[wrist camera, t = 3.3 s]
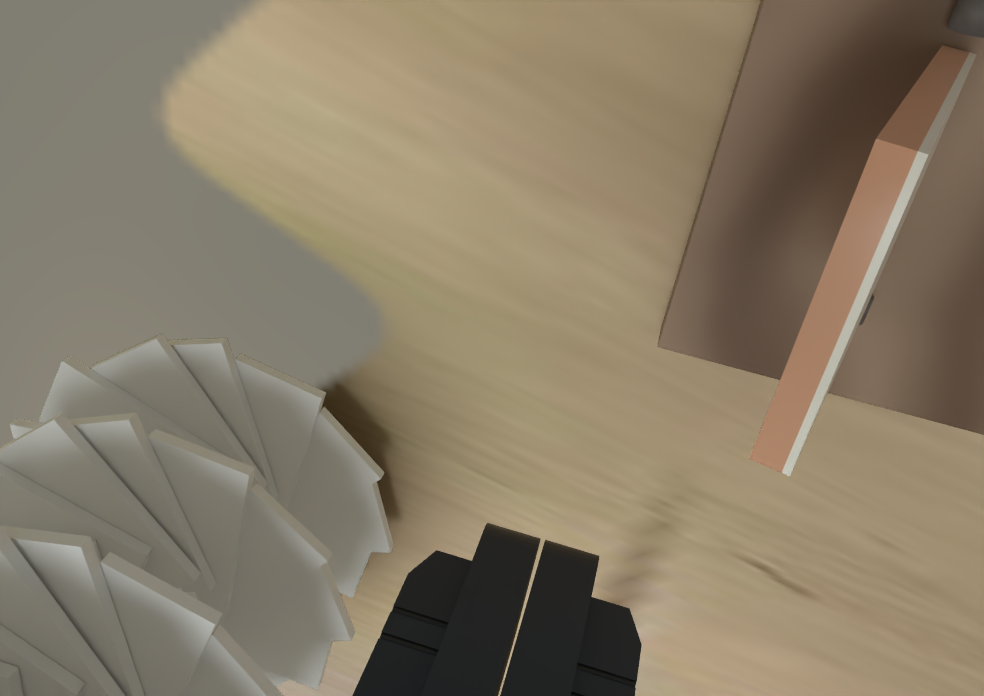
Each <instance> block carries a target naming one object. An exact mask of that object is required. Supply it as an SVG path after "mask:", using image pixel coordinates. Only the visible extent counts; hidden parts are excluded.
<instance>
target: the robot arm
mask: <svg viewBox="0 0 984 696" xmlns="http://www.w3.org/2000/svg"><path fill="white" fill-rule="evenodd" d="M539 543H540V538H536V537H533V536H530V535H526V534H523V533H520V532H516V531H513V530H510V529H506V528H503V527H499V526H496V525H493V524H489V523H487V524H486V526H485V529H484V531H483V534H482V536H481V539H480V541H479V544H478V547H477V549H476V552H475V555H474V557H473V560H472V561H470V560H467V559H463V558H460V557H457V556H454V555H450V554H447V553H444V552H440V551H437V550H436V551H435V552H434V553H433V554H431V555H430V556H429V557H428V558H427V559H425V560H424V561H423V562H422V563H420V564H419V565H418V566H417V567H416V568H414V569H413V570H412V571H411V572H409V573H408V575H407V578H406V580H405V582H404V584H403V586H402V588H401V591H400V593H399V595H398V597H397V599H396V602H395V604H394V607H393V610H392V612H391V613H390V615H389V617H388V619H387V621H386V623H385V626H384V628H383V630H382V633H381V636H380V639H378V641H377V643H376V645H375V648H374V650H373V652H372V654H371V656H370V659H369V661H368V663H367V665H366V667H365V669H364V672H363V674H362V676H361V678H360V680H359V683H358V685H357V687H356V689H355V691H354V694H353V696H498V694H499V690H500V687H501V683H502V680H503V676H504V673H505V670H506V666H507V663H508V659H509V656H510V652H511V649H512V645H513V641H514V638H515V634H516V630H517V627H518V623H519V619H520V616H521V612H522V608H523V604H524V600H525V597H526V593H527V589H528V585H529V581H530V578H531V574H532V570H533V566H534V562H535V559H536V555H537V551H538V547H539ZM598 561H599V556H598V555H594V554H591V553H588V552H584V551H581V550H578V549H574V548H571V547H568V546H564V545H561V544H557V543H554V542H551V541H547V540H545V543H544V546H543V550H542V553H541V557H540V560H539V563H538V567H537V570H536V574H535V577H534V581H533V584H532V588H531V591H530V595H529V598H528V602H527V605H526V608H525V612H524V615H523V619H522V622H521V626H520V629H519V633H518V636H517V640H516V643H515V647H514V650H513V654H512V657H511V660H510V664H509V667H508V671H507V674H506V678H505V681H504V685H503V688H502V692H501V695H500V696H635V689H636V688H635V685H636V681H637V674H638V667H639V660H640V652H641V642H640V639H639V636H638V633H637V630H636V627H635V624H634V621H633V618H632V615H631V612H630V609H629V608H626V607H623V606H619V605H616V604H613V603H609V602H606V601H603V600H599V599H596V598H593V597H591V595H592V591H593V586H594V581H595V576H596V571H597V567H598Z"/></svg>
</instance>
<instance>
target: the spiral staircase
mask: <svg viewBox="0 0 984 696" xmlns="http://www.w3.org/2000/svg"><path fill="white" fill-rule="evenodd" d="M325 395H326V392H324V391H322V390H320V389H317V388H315V387H313V386H311V385H309V384H306V383H304V382H302V381H300V380H298V379H295V378H293V377H291V376H289V375H286V374H284V373H282V372H280V371H278V370H276V369H273V368H271V367H269V366H267V365H265V364H262V363H260V362H258V361H256V360H254V359H251V358H249V357H247V356H245V355H243V354H240V355H239V356H238V357H237V358H236V359H235V360H234V357H233V354H232V351H231V348H230V345H229V341H228V338H208V339H183V340H167V339H166V338H165V337H164V335H163V334H159V335H157V336H155V337H153V338H151V339H148V340H146V341H144V342H142V343H140V344H138V345H135V346H133V347H131V348H129V349H127V350H125V351H122V352H120V353H118V354H116V355H113V356H111V357H109V358H107V359H105V360H102V361H100V362H98V363H96V364H95V365H94V366H92V367H91V368H88V367H87V366H85V365H84V364H82V363H80V362H79V361H77V360H76V359H74V358H73V357H71V356H67V357H66V358H65V359H64V360H62V362H61V365H60V367H59V370H58V372H57V375H56V377H55V380H54V382H53V385H52V388H51V390H50V393H49V395H48V398H47V400H46V403H45V405H44V408H43V411H42V413H41V416H40V418H39V421H38V422H33V421H28V420H22V419H16V420H15V421H13V423H11V424H10V427H11V431H12V435H13V438H14V440H13V441H11V442H9V443H8V444H6V445H4V446H2V447H1V448H0V696H283V695H282V693H281V692H280V691H279V690H278V689H277V688H276V687H277V686H279V685H280V684H282V683H284V682H285V681H287V680H289V679H291V680H293V681H296V682H298V683H301V684H303V685H305V686H308V687H310V688H313V689H315V690H318V688H319V686H320V684H321V682H322V678H323V674H324V671H325V667H326V663H327V660H328V656H329V652H330V649H331V645H332V641H351V640H352V638H353V636H354V634H355V630H354V627H353V625H352V622H351V620H350V617H349V615H348V613H347V610H346V608H345V605H344V603H343V600H342V598H341V595H340V593H342V594H344V595H346V596H348V597H350V598H352V597H353V595H354V593H355V592H356V589H357V587H358V584H359V582H360V579H361V577H362V574H363V572H364V570H365V567H366V565H367V562H368V560H369V557H370V555H371V552H382V553H391V551H392V549H393V547H394V544H393V540H392V537H391V533H390V529H389V525H388V522H387V518H386V514H385V511H384V507H383V503H382V499H381V496H380V492H379V488H378V484H377V481H379V480H380V479H381V478H382V476H383V475H384V471H383V470H382V469H381V468H380V467H379V466H378V465H377V464H376V463H375V462H374V460H373V459H372V458H371V457H370V456H369V455H368V454H367V453H366V452H365V451H364V449H363V448H362V447H361V446H360V445H359V444H358V443H357V442H356V441H355V440H354V439H353V437H352V436H351V435H350V434H349V433H348V432H347V431H346V430H345V429H344V428H343V426H342V425H341V424H340V423H339V422H338V421H337V420H336V419H335V418H334V417H333V415H332V414H331V413H330V412H329V411H328V410H327V409H326V408H325V407H323V408H322V405H323V402H324V398H325ZM321 408H322V409H321ZM339 592H340V593H339Z"/></svg>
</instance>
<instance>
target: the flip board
mask: <svg viewBox="0 0 984 696" xmlns="http://www.w3.org/2000/svg"><path fill="white" fill-rule="evenodd" d="M942 45H944V46H948V47H952V48H955V49H959V50H963V51H967V52H971V53H974V54H977V55H976V57H975V59H974V62H973V64H972V66H971V68H970V71H969V73H968V75H967V78H966V80H965V82H964V85H963V87H962V89H961V91H960V94H959V96H958V98H957V101H956V103H955V105H954V108H953V110H952V112H951V115H950V117H949V119H948V121H947V124H946V126H945V128H944V131H943V133H942V135H941V138H940V140H939V142H938V144H937V147H936V149H935V151H934V154H933V156H932V158H931V161H930V163H929V165H928V168H927V170H926V172H925V174H924V177H923V179H922V181H921V184H920V186H919V188H918V191H917V193H916V195H915V198H914V200H913V202H912V204H911V207H910V209H909V211H908V214H907V216H906V218H905V221H904V223H903V225H902V227H901V230H900V232H899V234H898V237H897V239H896V241H895V244H894V246H893V248H892V251H891V253H890V255H889V257H888V260H887V262H886V264H885V267H884V269H883V271H882V274H881V276H880V278H879V280H878V283H877V285H876V287H875V290H874V292H873V294H872V296H871V298H870V301H869V303H868V305H867V307H866V309H865V312H864V314H863V316H862V318H861V320H860V323H859V325H858V327H857V329H856V331H855V334H854V336H853V338H852V340H851V342H850V345H849V347H848V349H847V351H846V353H845V356H844V358H843V360H842V362H841V365H840V367H839V369H838V371H837V373H836V376H835V378H834V380H833V382H832V384H831V387H830V389H829V391H828V393H830V394H834V395H838V396H842V397H845V398H849V399H853V400H856V401H860V402H864V403H868V404H871V405H875V406H879V407H882V408H886V409H890V410H894V411H897V412H901V413H905V414H908V415H912V416H916V417H920V418H923V419H927V420H931V421H934V422H938V423H942V424H946V425H949V426H953V427H957V428H961V429H964V430H968V431H972V432H975V433H979V434H983V435H984V0H761V3H760V6H759V9H758V13H757V16H756V19H755V23H754V26H753V29H752V32H751V36H750V39H749V42H748V45H747V49H746V52H745V55H744V59H743V62H742V65H741V68H740V72H739V75H738V78H737V81H736V85H735V88H734V91H733V95H732V98H731V101H730V104H729V108H728V111H727V114H726V117H725V121H724V124H723V127H722V131H721V134H720V137H719V140H718V144H717V147H716V150H715V153H714V157H713V160H712V163H711V167H710V170H709V173H708V176H707V180H706V183H705V186H704V189H703V193H702V196H701V199H700V203H699V206H698V209H697V212H696V216H695V219H694V222H693V225H692V229H691V232H690V235H689V238H688V242H687V245H686V248H685V252H684V255H683V258H682V261H681V265H680V268H679V271H678V274H677V278H676V281H675V284H674V288H673V291H672V294H671V297H670V301H669V304H668V307H667V310H666V314H665V317H664V320H663V324H662V327H661V331H660V336H659V342H658V347H660V348H663V349H667V350H671V351H674V352H678V353H682V354H686V355H689V356H693V357H697V358H700V359H704V360H708V361H712V362H715V363H719V364H723V365H726V366H730V367H734V368H738V369H741V370H745V371H749V372H752V373H756V374H760V375H764V376H767V377H771V378H775V379H778V380H780V379H781V377H782V374H783V372H784V369H785V367H786V364H787V362H788V359H789V357H790V354H791V352H792V349H793V347H794V344H795V342H796V339H797V337H798V334H799V332H800V329H801V327H802V324H803V321H804V319H805V316H806V314H807V311H808V309H809V306H810V304H811V301H812V299H813V296H814V294H815V291H816V289H817V286H818V284H819V281H820V279H821V276H822V274H823V271H824V269H825V266H826V263H827V261H828V258H829V256H830V253H831V251H832V248H833V246H834V243H835V241H836V238H837V236H838V233H839V231H840V228H841V226H842V223H843V221H844V218H845V216H846V213H847V211H848V208H849V206H850V203H851V200H852V198H853V195H854V193H855V190H856V188H857V185H858V183H859V180H860V178H861V175H862V173H863V170H864V168H865V165H866V163H867V160H868V158H869V155H870V153H871V150H872V148H873V145H874V143H875V140H876V138H877V137H878V135H879V134H880V132H881V131H882V130H883V128H884V127H885V125H886V124H887V122H888V121H889V120H890V118H891V117H892V115H893V114H894V113H895V111H896V110H897V108H898V107H899V106H900V104H901V103H902V101H903V100H904V99H905V97H906V96H907V94H908V93H909V92H910V90H911V89H912V87H913V86H914V85H915V83H916V82H917V80H918V79H919V77H920V76H921V75H922V73H923V72H924V70H925V69H926V68H927V66H928V65H929V63H930V62H931V61H932V59H933V58H934V56H935V55H936V54H937V52H938V51H939V49H940V48H941V47H942Z"/></svg>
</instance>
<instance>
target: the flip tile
mask: <svg viewBox="0 0 984 696" xmlns="http://www.w3.org/2000/svg"><path fill="white" fill-rule="evenodd" d="M976 55H977V54H974V53H971V52H967V51H963V50H959V49H955V48H952V47H948V46H944V45H942V47H941V48H940V49H939V51H938V52H937V54H936V55H935V56H934V58H933V59H932V61H931V62H930V63H929V65H928V66H927V68H926V69H925V70H924V72H923V73H922V75H921V76H920V77H919V79H918V80H917V82H916V83H915V85H914V86H913V87H912V89H911V90H910V92H909V93H908V94H907V96H906V97H905V99H904V100H903V101H902V103H901V104H900V106H899V107H898V108H897V110H896V111H895V113H894V114H893V115H892V117H891V118H890V120H889V121H888V122H887V124H886V125H885V127H884V128H883V130H882V131H881V132H880V134H879V135H878V137H877V138H876V140H875V143H874V145H873V148H872V150H871V153H870V155H869V158H868V160H867V163H866V165H865V168H864V170H863V173H862V175H861V178H860V180H859V183H858V185H857V188H856V190H855V193H854V195H853V198H852V200H851V203H850V206H849V208H848V211H847V213H846V216H845V218H844V221H843V223H842V226H841V228H840V231H839V233H838V236H837V238H836V241H835V243H834V246H833V248H832V251H831V253H830V256H829V258H828V261H827V263H826V266H825V269H824V271H823V274H822V276H821V279H820V281H819V284H818V286H817V289H816V291H815V294H814V296H813V299H812V301H811V304H810V306H809V309H808V311H807V314H806V316H805V319H804V321H803V324H802V327H801V329H800V332H799V334H798V337H797V339H796V342H795V344H794V347H793V349H792V352H791V354H790V357H789V359H788V362H787V364H786V367H785V369H784V372H783V374H782V377H781V379H780V382H779V384H778V387H777V390H776V392H775V395H774V397H773V400H772V402H771V405H770V407H769V410H768V412H767V415H766V417H765V420H764V422H763V425H762V427H761V430H760V432H759V435H758V437H757V440H756V442H755V445H754V447H753V450H752V453H751V455H750V458H749V459H751V460H753V461H756V462H758V463H760V464H762V465H765V466H767V467H769V468H772V469H774V470H776V471H778V472H781V473H783V474H785V475H788V476H790V475H791V473H792V470H793V468H794V466H795V464H796V461H797V459H798V457H799V455H800V453H801V450H802V448H803V446H804V444H805V442H806V439H807V437H808V435H809V433H810V431H811V428H812V426H813V424H814V422H815V420H816V417H817V415H818V413H819V411H820V409H821V406H822V404H823V402H824V400H825V398H826V395H827V393H828V391H829V389H830V387H831V384H832V382H833V380H834V378H835V376H836V373H837V371H838V369H839V367H840V365H841V362H842V360H843V358H844V356H845V353H846V351H847V349H848V347H849V345H850V342H851V340H852V338H853V336H854V334H855V331H856V329H857V327H858V325H859V323H860V320H861V318H862V316H863V314H864V312H865V309H866V307H867V305H868V303H869V301H870V298H871V296H872V294H873V292H874V290H875V287H876V285H877V283H878V280H879V278H880V276H881V274H882V271H883V269H884V267H885V264H886V262H887V260H888V257H889V255H890V253H891V251H892V248H893V246H894V244H895V241H896V239H897V237H898V234H899V232H900V230H901V227H902V225H903V223H904V221H905V218H906V216H907V214H908V211H909V209H910V207H911V204H912V202H913V200H914V198H915V195H916V193H917V191H918V188H919V186H920V184H921V181H922V179H923V177H924V174H925V172H926V170H927V168H928V165H929V163H930V161H931V158H932V156H933V154H934V151H935V149H936V147H937V144H938V142H939V140H940V138H941V135H942V133H943V131H944V128H945V126H946V124H947V121H948V119H949V117H950V115H951V112H952V110H953V108H954V105H955V103H956V101H957V98H958V96H959V94H960V91H961V89H962V87H963V85H964V82H965V80H966V78H967V75H968V73H969V71H970V68H971V66H972V64H973V62H974V59H975V57H976Z"/></svg>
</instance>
